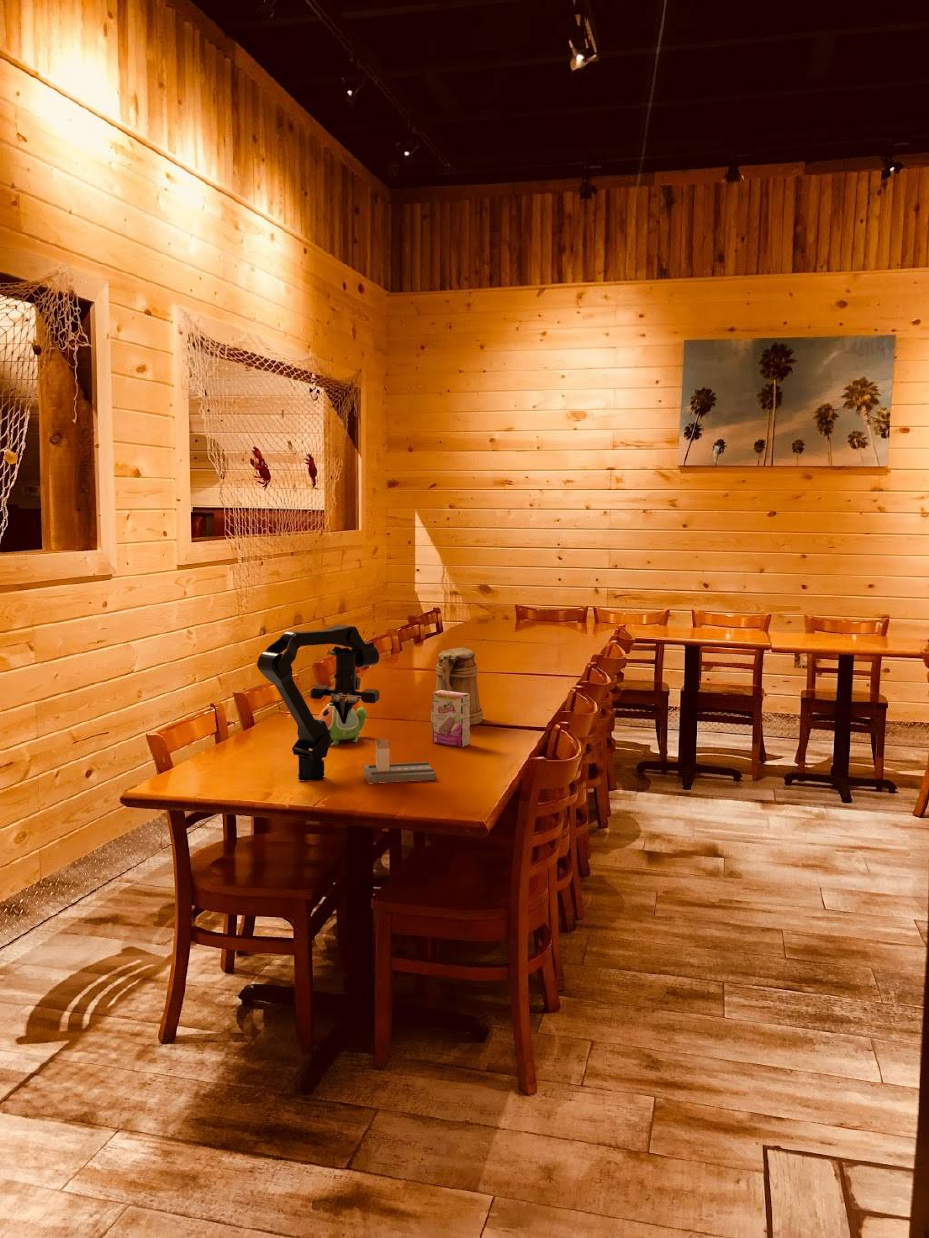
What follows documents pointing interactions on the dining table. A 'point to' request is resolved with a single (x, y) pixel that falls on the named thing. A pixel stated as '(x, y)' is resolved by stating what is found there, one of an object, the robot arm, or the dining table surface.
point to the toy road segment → (400, 772)
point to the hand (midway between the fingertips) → (344, 723)
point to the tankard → (460, 678)
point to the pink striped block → (382, 755)
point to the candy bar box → (451, 718)
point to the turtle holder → (336, 725)
